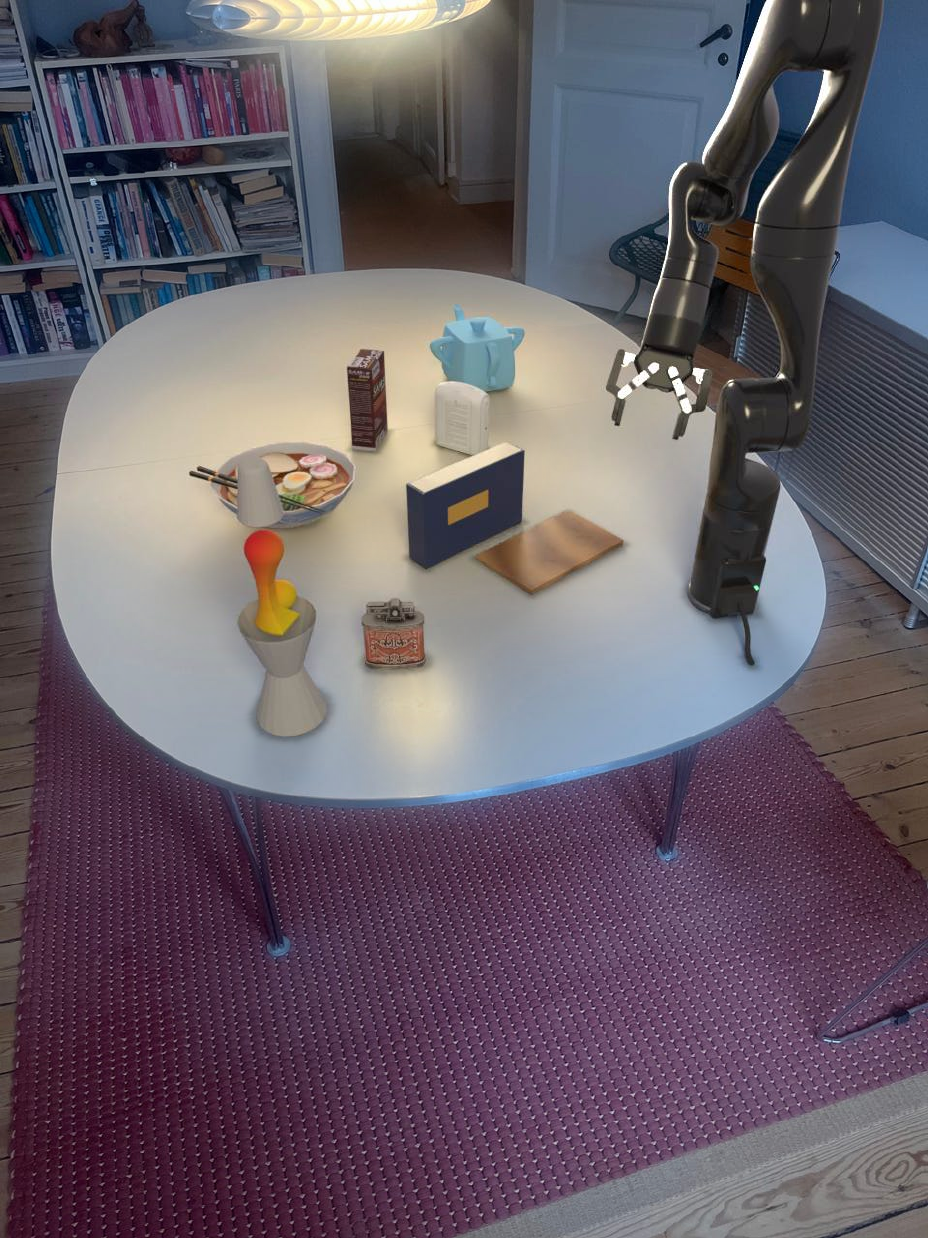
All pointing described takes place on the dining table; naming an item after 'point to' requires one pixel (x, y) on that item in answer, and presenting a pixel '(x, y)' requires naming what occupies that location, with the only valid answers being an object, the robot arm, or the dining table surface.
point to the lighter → (393, 635)
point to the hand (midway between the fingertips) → (645, 432)
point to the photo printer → (462, 417)
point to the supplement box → (367, 400)
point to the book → (464, 504)
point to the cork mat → (549, 551)
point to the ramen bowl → (291, 479)
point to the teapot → (478, 351)
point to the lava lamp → (275, 613)
